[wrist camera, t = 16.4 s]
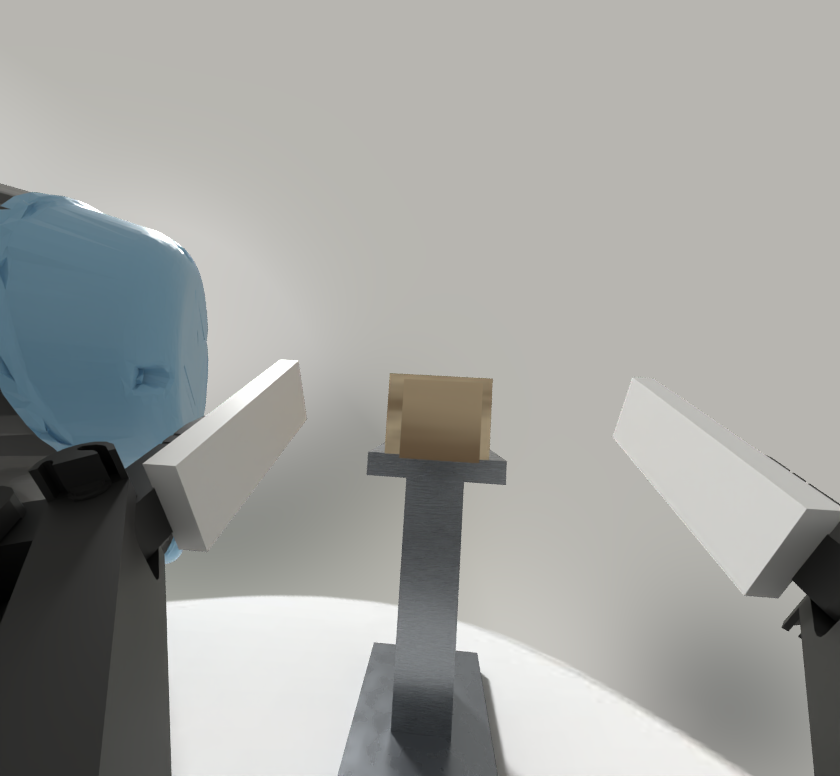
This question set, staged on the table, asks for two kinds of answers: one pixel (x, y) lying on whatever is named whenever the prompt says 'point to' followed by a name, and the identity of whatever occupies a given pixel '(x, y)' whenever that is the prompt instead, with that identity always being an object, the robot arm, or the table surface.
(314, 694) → the table surface
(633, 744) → the table surface
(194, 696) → the table surface
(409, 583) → the stand
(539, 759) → the table surface
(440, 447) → the mallet
